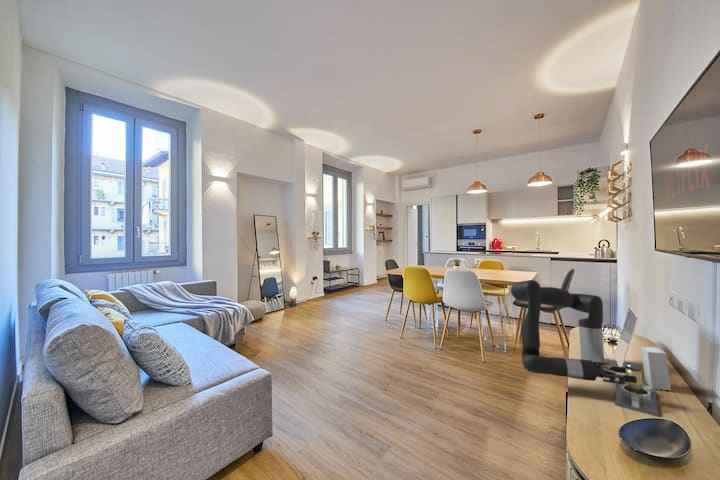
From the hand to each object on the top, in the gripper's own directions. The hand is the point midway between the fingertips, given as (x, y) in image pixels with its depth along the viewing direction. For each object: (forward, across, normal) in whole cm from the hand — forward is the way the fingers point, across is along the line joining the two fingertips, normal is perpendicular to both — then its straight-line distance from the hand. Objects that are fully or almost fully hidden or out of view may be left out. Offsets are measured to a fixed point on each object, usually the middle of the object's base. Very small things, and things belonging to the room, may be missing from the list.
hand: (631, 374), depth 109 cm
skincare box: (+13, +16, +9) cm, 23 cm away
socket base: (+1, 0, +9) cm, 9 cm away
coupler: (+1, 0, +8) cm, 8 cm away
